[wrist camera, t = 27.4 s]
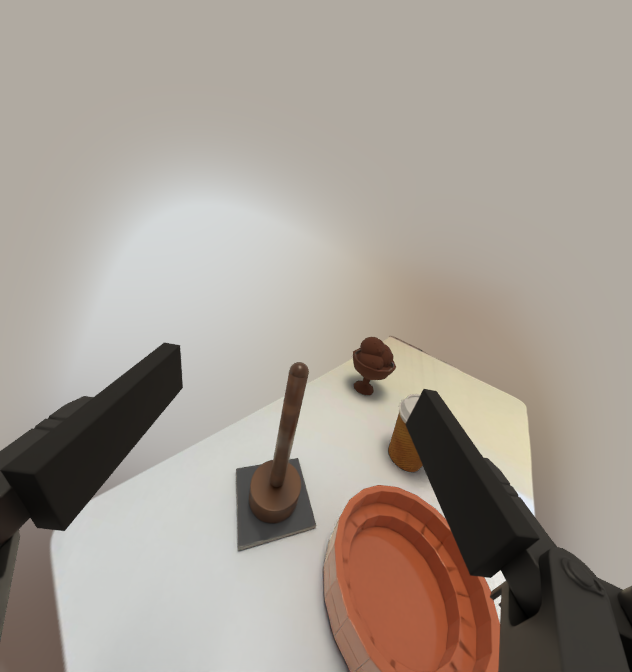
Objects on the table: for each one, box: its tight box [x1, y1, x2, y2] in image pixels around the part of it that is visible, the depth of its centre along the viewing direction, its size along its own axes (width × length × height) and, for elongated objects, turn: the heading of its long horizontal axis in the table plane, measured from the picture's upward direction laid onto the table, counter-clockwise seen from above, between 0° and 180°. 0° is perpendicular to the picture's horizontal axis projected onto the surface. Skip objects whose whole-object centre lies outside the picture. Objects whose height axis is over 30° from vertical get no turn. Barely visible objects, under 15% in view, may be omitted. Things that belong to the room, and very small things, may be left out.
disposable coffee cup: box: [388, 394, 423, 472], centre depth 42 cm, size 10×10×12 cm
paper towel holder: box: [249, 362, 309, 523], centre depth 28 cm, size 7×7×23 cm
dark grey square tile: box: [236, 458, 316, 551], centre depth 33 cm, size 10×10×1 cm
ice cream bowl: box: [353, 337, 396, 395], centre depth 59 cm, size 11×11×15 cm
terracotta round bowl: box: [324, 485, 500, 672], centre depth 26 cm, size 17×17×6 cm
